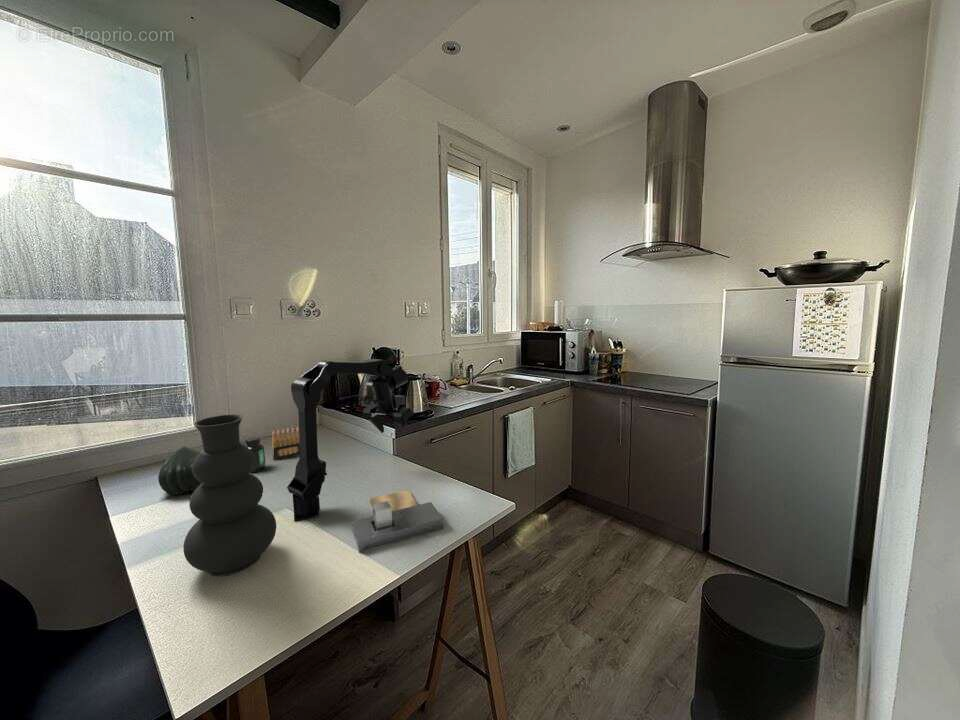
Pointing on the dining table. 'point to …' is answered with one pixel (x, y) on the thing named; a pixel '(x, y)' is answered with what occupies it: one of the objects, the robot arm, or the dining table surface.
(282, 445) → the ammunition clip
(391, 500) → the oak pad
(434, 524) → the rail
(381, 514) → the brushed metal block
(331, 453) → the dining table surface
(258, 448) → the supplement bottle
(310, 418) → the robot arm
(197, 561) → the vase
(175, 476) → the squash
